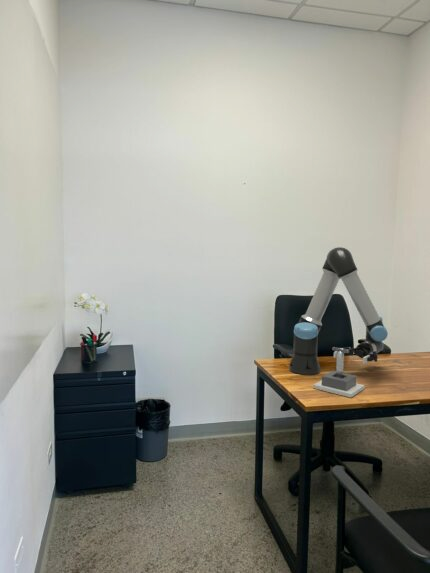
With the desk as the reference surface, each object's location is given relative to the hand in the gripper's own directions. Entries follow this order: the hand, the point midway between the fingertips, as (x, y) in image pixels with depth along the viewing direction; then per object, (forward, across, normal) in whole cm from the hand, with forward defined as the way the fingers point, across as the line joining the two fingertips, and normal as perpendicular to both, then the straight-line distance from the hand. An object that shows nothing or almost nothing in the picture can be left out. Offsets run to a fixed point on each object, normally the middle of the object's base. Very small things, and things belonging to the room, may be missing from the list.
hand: (348, 357), depth 183 cm
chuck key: (+10, 0, -10) cm, 14 cm away
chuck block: (+10, 0, -12) cm, 15 cm away
